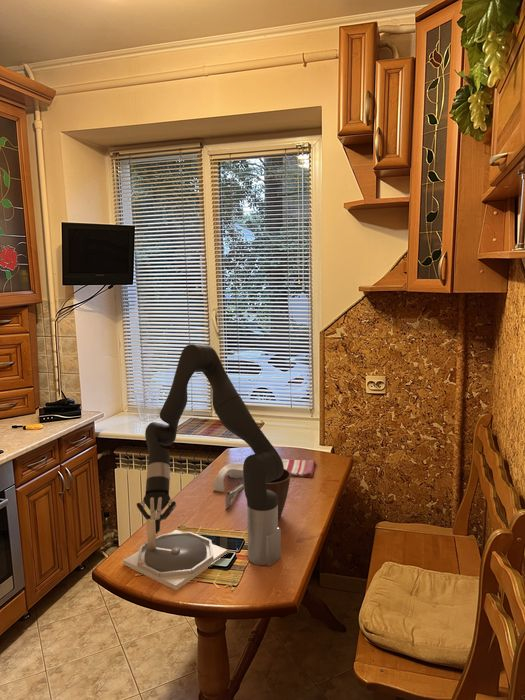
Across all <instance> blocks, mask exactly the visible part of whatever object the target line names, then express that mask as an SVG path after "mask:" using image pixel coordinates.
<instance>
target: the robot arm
mask: <svg viewBox="0 0 525 700" xmlns="http://www.w3.org/2000/svg"><path fill="white" fill-rule="evenodd" d="M195 373H203V374H204V376H205V377H206V379H207V381H208V382H209V384H210V386H211V389H212V390H211V392H212V394H211V395H212V397H211V399H212V407H213V410H214V411H215V412H214V413H215V414H216V416H217V418H218V419H219V421H220V422H221V424H222V425H223V427H224V428H225V429H227V431H228V432H231V433H232V434H234V435H235V436H236V437H238V438H240V439H241V440H242V441H243V442H245V443H246V444H247V445H248V447H250V449H251V451H252V452H253V453H252V454H250V455H247V457H246V458H245V459H244V462H243V485H244V488H243V490H244V495H245V498H246V508H247V509H246V510H247V511H246V513H247V518H246V519H247V520H246V523H247V529H246V530H247V560H249V562H251V563H252V564H254V565H258V566H268V567H270V566H272V565H273V564H274V563H275V562H276V561H278V560H279V559H280V558H281V557H282V551H281V550H282V537H281V535H282V532H281V529H282V528H280V527H279V520H278V497H277V494H276V493H275V492H273V491H271V490H267V489H266V483H268V482H271V481H273V480H276V479H278V478H280V477H281V476H282V475H283V472H284V466H283V462H282V460H281V459H282V458H281V456H280V454H279V452H278V451H277V449H276V448H275V447H274V446H273V444H272V443H271V442H270V440H269V438H267V437H266V435H265V434H264V432H263V431H262V430H261V428H260V426H259V425H258V424H257V422H256V420H255V419H254V417H253V415H252V414H251V412H250V411H249V409H248V407H247V406H246V404H245V402H244V400H243V398H242V397H241V395H240V394H239V393H238V391H237V389H236V388H235V386H234V384H233V383H232V381H231V379H230V377H229V376H228V374H227V372H226V370H225V368H224V365H223V363H222V361H221V360H220V357H219V355H218V353H217V351H216V350H215V349H214V348H213V347H212V346H211V345H208V344H202V343H200V344H198V343H191V344H190V343H189V344H187V345H186V346H184V348H183V349H182V351H181V353H180V356H179V358H178V362H177V366H176V370H175V373H174V375H173V376H174V377H173V380H172V383H171V387H170V389H169V393H168V395H167V397H166V399H165V401H164V403H163V406H162V407H161V410H160V412H159V419H160V420H162V422H164V423H162V422H161V423H160V422H156V421H153V422H150V423H149V424H148V425H147V426H146V427H145V433H144V436H145V437H144V438H145V442H146V446H147V452H148V467H147V470H146V479H145V480H146V481H145V482H146V483H145V495H144V497H143V500H142V501H140V502H137V503H136V507H137V510H138V511H139V512H140V513H141V515H142V516H143V517H144V518H145V521H147V519H150V518H153V519H155V528H156V535H158V532H159V533H160V531H161V522H162V521H164V520H166V519H168V517H169V516H170V515H171V514H172V512H173V511H174V510H175V509H176V507H177V503H176V501H173V500H172V499H171V496H170V482H171V481H170V480H171V469H170V466H171V465H170V464H171V463H170V462H171V453H170V451H169V450H168V449H167V448H166V447H164V446H167V447H168V446H171V445H172V444H174V442H175V441H176V439H177V431H178V428H179V427H178V426H179V422H180V420H181V417H182V415H183V413H184V411H185V410H186V406H187V403H188V385H189V382H190V380H191V378H192V377H193V375H194V374H195ZM165 423H166V424H165ZM162 445H163V446H162ZM145 505H146V506H145ZM146 507H147V509H148V510H149V512H150V514H149V513H147V511H146V510H145V508H146ZM166 507H167V508H166ZM165 508H166V509H165ZM164 509H165V510H164ZM163 510H164V512H163Z"/></svg>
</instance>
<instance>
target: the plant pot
mask: <svg viewBox="0 0 525 700" xmlns="http://www.w3.org/2000/svg"><path fill="white" fill-rule="evenodd" d="M290 480H291V476H290V472H289V471H287V470H286V469H284V472H283V475H282V476H281V477H280V478H278V479H276V480H273V481H271V482H268V483H266V489H267V490H271V491H273V492H275V493H276V494H277V497H278V521H279V519H280V518H281V516H282V514H283V511H284V508H285V505H286V502H287V498H288V493H289V488H290Z"/></svg>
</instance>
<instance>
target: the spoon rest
mask: <svg viewBox="0 0 525 700" xmlns="http://www.w3.org/2000/svg"><path fill="white" fill-rule="evenodd" d="M243 464H244V462H243V463H242V462H241V463H240V462H237V463H236V462H235V463H234V462H233V463H229V464H226V465H225V466H223V467H222V468H221V469H220V470H219V472H218V473H217V474H216V477H215V478H214V479H215V480H214V483H213V487H212V488H213V491H214V492H221V493H223V492H225V488H224V487H225V485H224V483H225V477H226V475H228V476H230V478H232V477H233V478H232V479H242V478H243V479H244V477H243Z"/></svg>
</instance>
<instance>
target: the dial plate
mask: <svg viewBox="0 0 525 700" xmlns="http://www.w3.org/2000/svg"><path fill="white" fill-rule="evenodd" d="M172 536H190V537H194V538H197V539H199V540H201V541H202V542H204V544H205V545H206V547H207V555H206V557H205V559H204V560H203V561H202V562H201V563H199V564H198V565H196V566H195V567H193V568H191V569H187V570H177V571H167V572H161V571H157V570H155V569H153V568H151V567H149V566H148V565H147V564H146V562H145V551H146V549H147V548H148V543H147V541H146V542H145V543H143V544H142V545H140V547H139V550H137V552H134V553H132V554H131V555H129V556H128V557H126V558H124V559H123V560H122V561H123V563H122V564H123V565H124V566H125V565H126V567H127V566H128V568H129V567H130V569H132V570H134V571H136V572H138V573H140V574H141V575H144V576H146V577H148V578H150V579H152V580H154V581H156V582H158V583H160V584H162V585H165V586H166V587H168V588H170V589H172V590H174V591H178V590H180V589H181V588H182V587H183V586H184V585H186V584H188V583H189V582H190V581H192V580H193V579H195V578H196V577H197V576H199V575H200V574H201V573H203V572H204V571H206V570H207V569H209V568H210V567H209V565H210V564H211V563H212V562H214V561H215V560H217V559H219V558H221V557H223V556H224V555H226V554H227V555H228V549H226V548H224V547H221V546H218V545H216V544H214V543H213V542H212V539H210V538H207V537H205V536H202V535H200V534H197V533H195V532H192V531H181V530H178V529H174V530H173V531H171V532H168V533H163V534H159V535H158V536H156V541H158V540H161V539H163V538H167V537H172ZM227 555H226V556H227ZM224 557H225V556H224ZM224 557H223V558H224ZM221 559H222V558H221ZM208 567H209V568H208Z"/></svg>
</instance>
